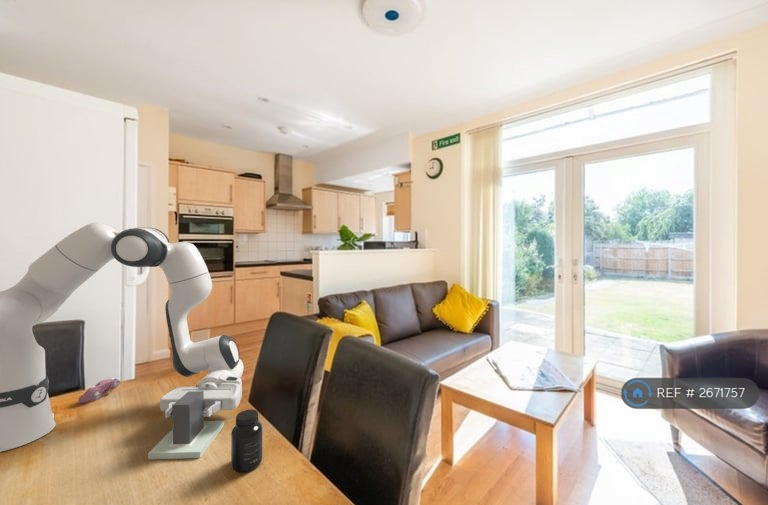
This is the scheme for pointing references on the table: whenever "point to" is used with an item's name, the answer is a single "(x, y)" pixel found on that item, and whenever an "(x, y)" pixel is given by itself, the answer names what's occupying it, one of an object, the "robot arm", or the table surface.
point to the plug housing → (188, 417)
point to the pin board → (192, 450)
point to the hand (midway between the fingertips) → (187, 414)
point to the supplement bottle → (246, 442)
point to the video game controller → (99, 390)
